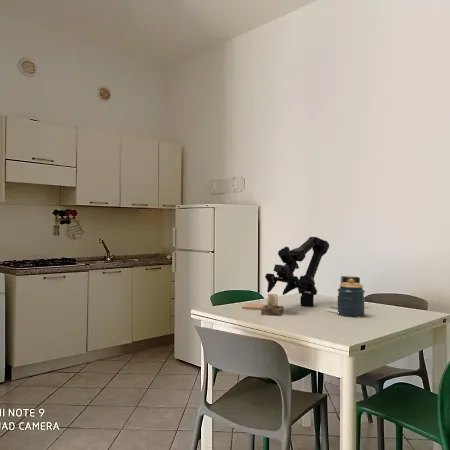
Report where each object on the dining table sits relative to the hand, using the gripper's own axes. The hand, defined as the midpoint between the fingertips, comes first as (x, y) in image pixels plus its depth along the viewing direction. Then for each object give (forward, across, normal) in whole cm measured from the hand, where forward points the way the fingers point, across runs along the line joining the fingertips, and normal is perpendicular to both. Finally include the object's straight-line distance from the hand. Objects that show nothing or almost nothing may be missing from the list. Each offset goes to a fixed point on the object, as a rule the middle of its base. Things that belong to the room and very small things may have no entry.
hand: (275, 293), depth 216 cm
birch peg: (+8, 0, +5) cm, 10 cm away
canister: (-10, +28, +24) cm, 38 cm away
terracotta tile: (+4, -15, +9) cm, 18 cm away
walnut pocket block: (+8, 0, +5) cm, 10 cm away
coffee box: (-24, +18, +38) cm, 48 cm away
